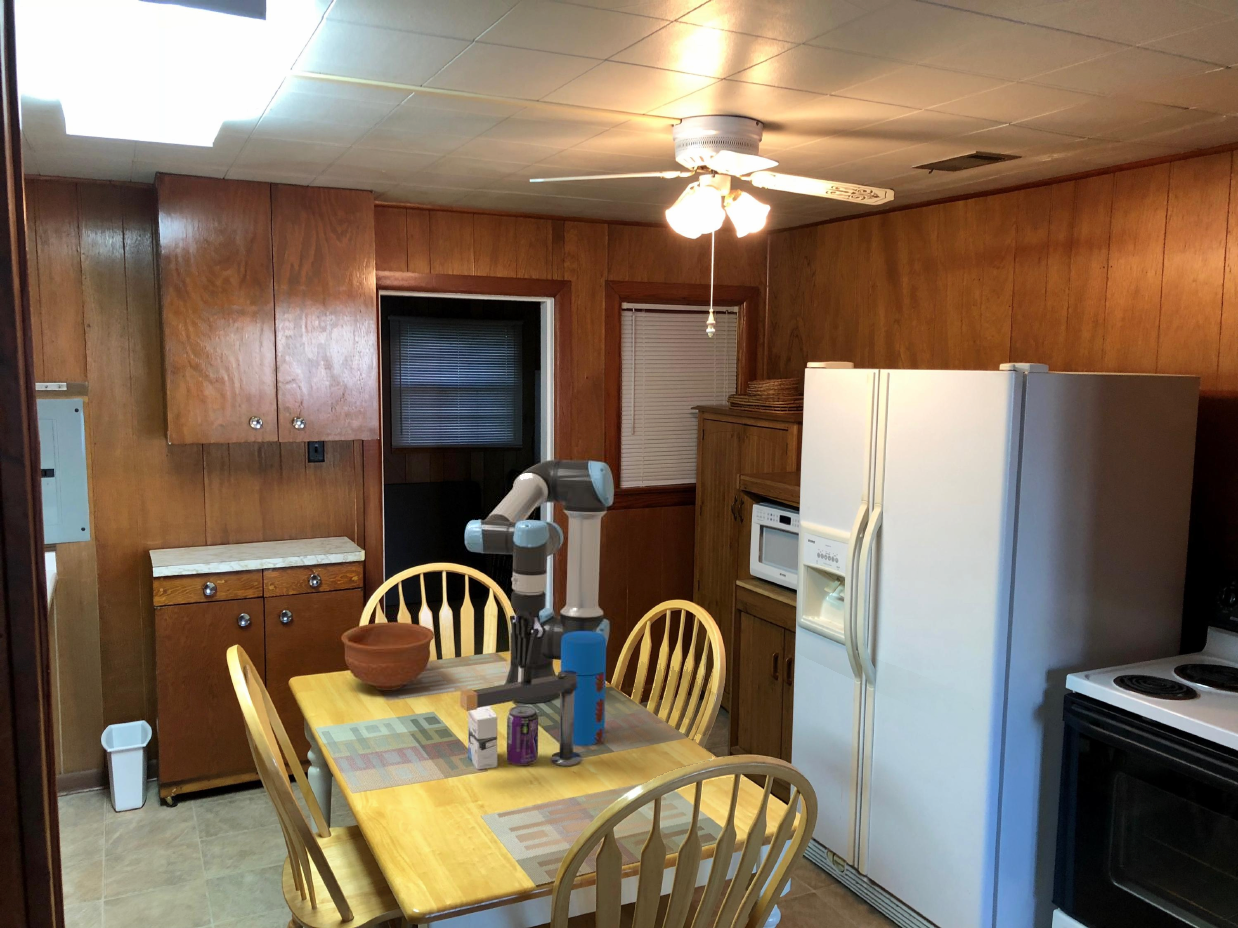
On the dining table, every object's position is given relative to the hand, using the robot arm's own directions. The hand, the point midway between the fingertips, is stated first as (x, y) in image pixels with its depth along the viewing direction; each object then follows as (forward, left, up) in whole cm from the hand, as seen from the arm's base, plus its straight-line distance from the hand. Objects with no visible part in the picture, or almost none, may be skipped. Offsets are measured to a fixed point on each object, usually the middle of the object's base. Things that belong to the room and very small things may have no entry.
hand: (524, 694), depth 215 cm
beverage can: (-2, -2, -17) cm, 17 cm away
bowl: (-5, -67, -17) cm, 69 cm away
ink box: (+5, -8, -17) cm, 20 cm away
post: (-9, +4, -17) cm, 20 cm away
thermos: (-21, -4, -17) cm, 27 cm away
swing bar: (+2, +2, 0) cm, 3 cm away
